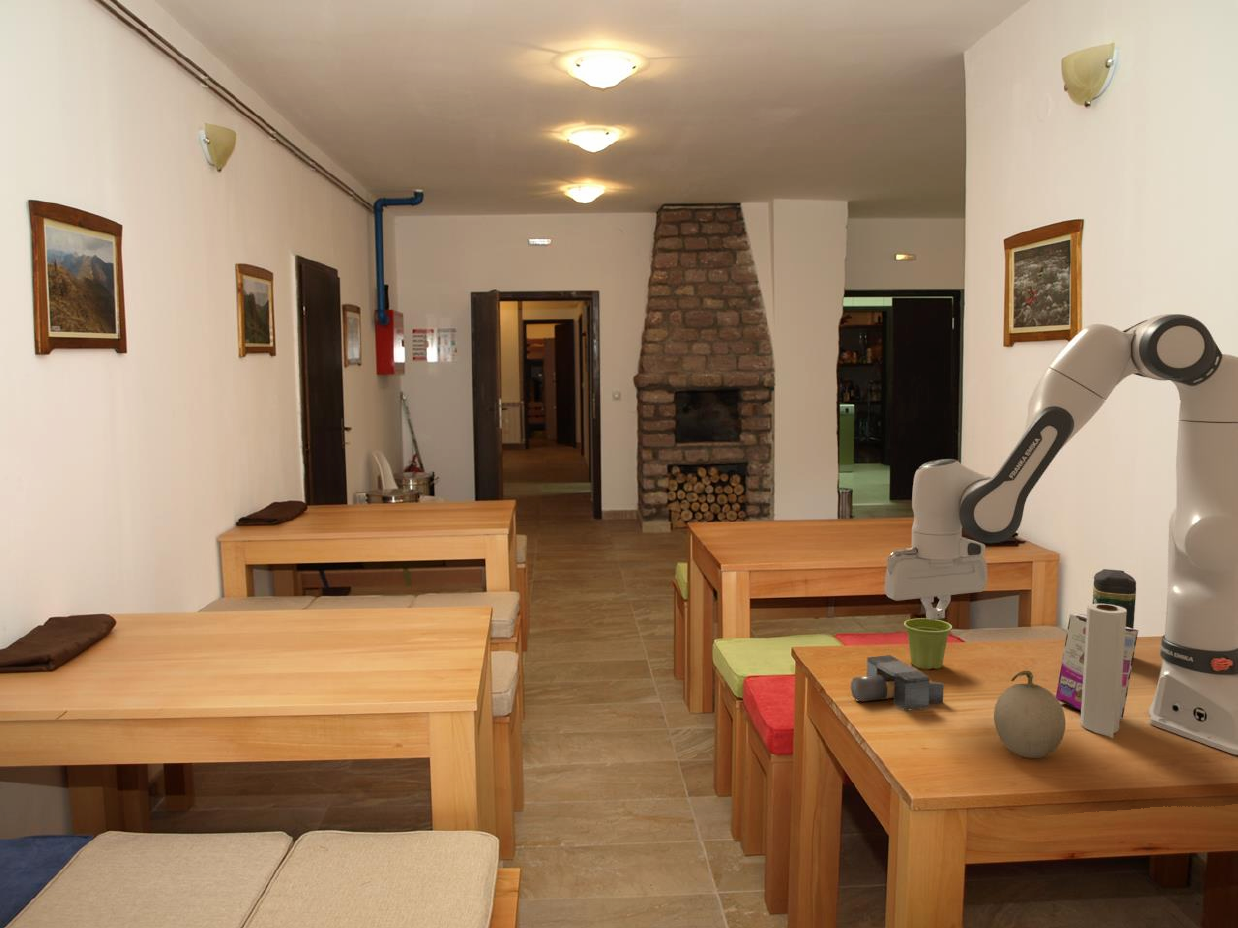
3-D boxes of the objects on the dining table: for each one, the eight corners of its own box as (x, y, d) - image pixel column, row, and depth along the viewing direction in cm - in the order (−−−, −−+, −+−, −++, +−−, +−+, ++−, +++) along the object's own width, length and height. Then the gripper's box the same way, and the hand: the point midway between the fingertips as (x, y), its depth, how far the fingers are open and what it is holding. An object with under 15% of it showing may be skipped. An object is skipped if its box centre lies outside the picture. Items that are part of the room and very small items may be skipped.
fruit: (1040, 738, 161) (1045, 651, 159) (1075, 767, 150) (1081, 675, 148) (979, 739, 161) (983, 652, 159) (1009, 768, 149) (1014, 676, 147)
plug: (908, 691, 183) (908, 668, 183) (922, 697, 179) (921, 673, 179) (851, 698, 180) (850, 675, 180) (863, 704, 175) (862, 680, 175)
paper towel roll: (1085, 717, 170) (1092, 600, 167) (1122, 726, 166) (1130, 606, 163) (1074, 730, 164) (1081, 608, 161) (1112, 739, 160) (1120, 615, 158)
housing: (948, 705, 176) (949, 674, 175) (904, 710, 173) (905, 679, 172) (907, 681, 188) (908, 653, 187) (866, 686, 185) (867, 657, 185)
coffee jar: (1134, 666, 197) (1140, 578, 194) (1091, 662, 199) (1096, 575, 197) (1127, 652, 206) (1133, 568, 203) (1087, 648, 208) (1092, 565, 206)
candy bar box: (1124, 721, 168) (1140, 630, 167) (1103, 720, 166) (1119, 628, 165) (1074, 699, 179) (1089, 613, 177) (1053, 699, 177) (1068, 612, 176)
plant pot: (941, 676, 191) (943, 633, 190) (895, 666, 197) (897, 625, 196) (956, 663, 199) (958, 623, 198) (912, 655, 204) (913, 615, 203)
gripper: (897, 553, 173) (896, 628, 174) (993, 545, 178) (991, 617, 180) (878, 547, 179) (877, 619, 180) (971, 539, 184) (970, 609, 186)
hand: (935, 618), depth 180 cm, fingers closed
